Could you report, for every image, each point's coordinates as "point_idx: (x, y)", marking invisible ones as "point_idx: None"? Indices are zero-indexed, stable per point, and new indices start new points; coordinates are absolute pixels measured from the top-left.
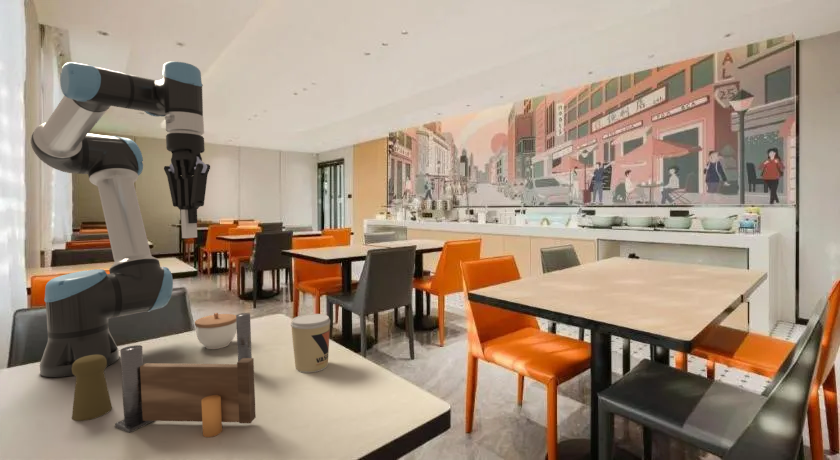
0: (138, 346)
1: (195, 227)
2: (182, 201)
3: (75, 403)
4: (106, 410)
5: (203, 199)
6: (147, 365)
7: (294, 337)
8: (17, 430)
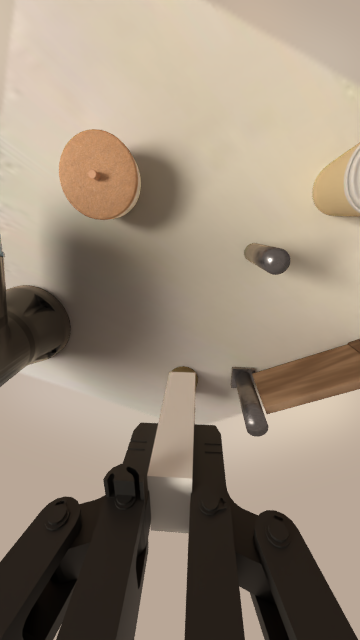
0: (259, 421)
1: (194, 404)
2: (138, 592)
3: None
4: (196, 376)
5: (323, 588)
6: (272, 410)
7: (353, 214)
8: (160, 413)
